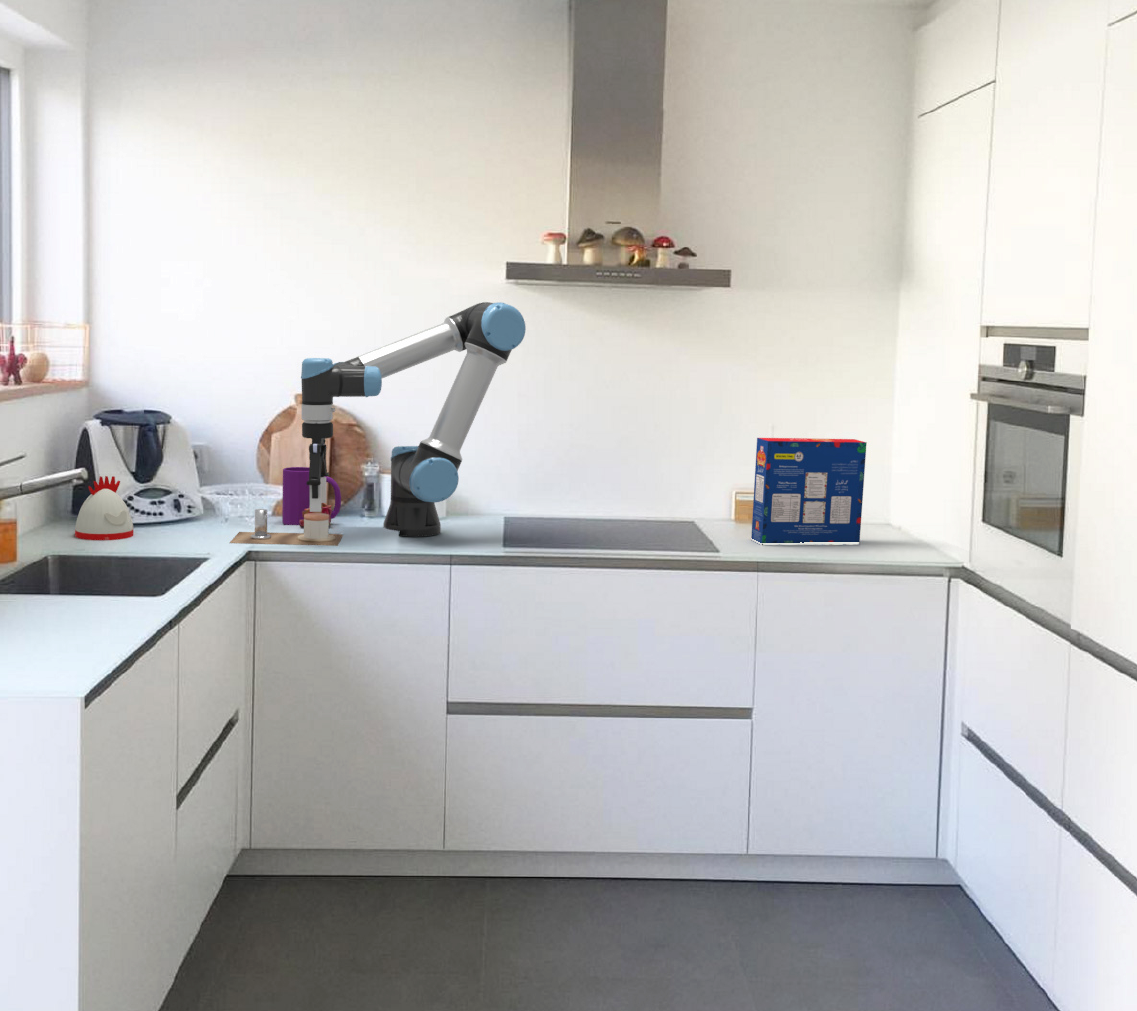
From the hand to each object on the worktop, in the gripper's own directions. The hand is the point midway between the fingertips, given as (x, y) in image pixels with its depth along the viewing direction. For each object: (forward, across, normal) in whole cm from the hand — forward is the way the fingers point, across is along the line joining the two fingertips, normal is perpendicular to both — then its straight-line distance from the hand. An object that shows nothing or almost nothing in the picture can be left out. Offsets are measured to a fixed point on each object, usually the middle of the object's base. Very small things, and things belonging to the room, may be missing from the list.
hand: (318, 507), depth 346 cm
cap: (+7, 0, +1) cm, 7 cm away
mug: (+10, +31, +5) cm, 33 cm away
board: (+9, 0, +8) cm, 12 cm away
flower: (+10, +19, +3) cm, 21 cm away
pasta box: (+12, +20, -128) cm, 130 cm away
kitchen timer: (+9, +7, +54) cm, 55 cm away
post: (+8, 0, +14) cm, 16 cm away
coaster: (+8, 0, +1) cm, 8 cm away
